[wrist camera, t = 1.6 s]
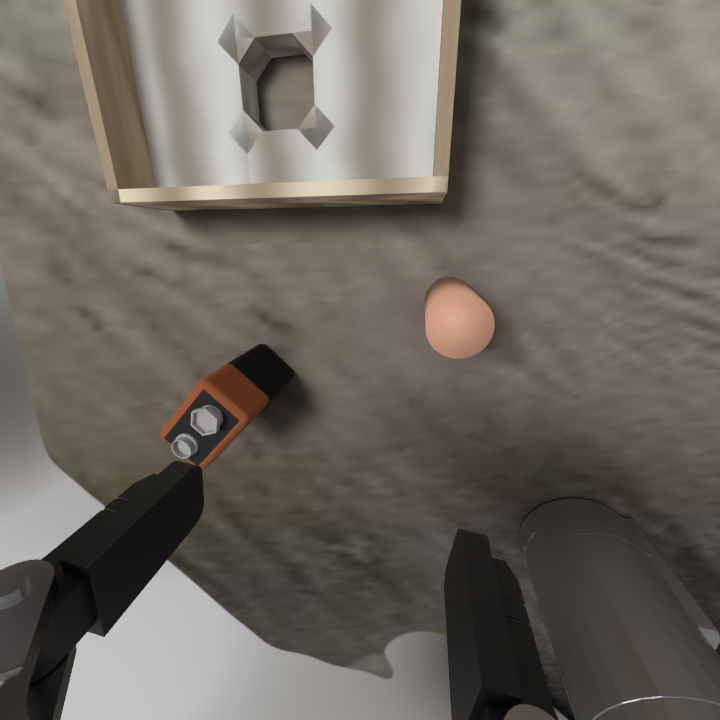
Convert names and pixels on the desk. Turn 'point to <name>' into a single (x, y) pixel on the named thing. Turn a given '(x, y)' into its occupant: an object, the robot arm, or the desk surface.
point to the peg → (457, 319)
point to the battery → (225, 405)
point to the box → (241, 109)
